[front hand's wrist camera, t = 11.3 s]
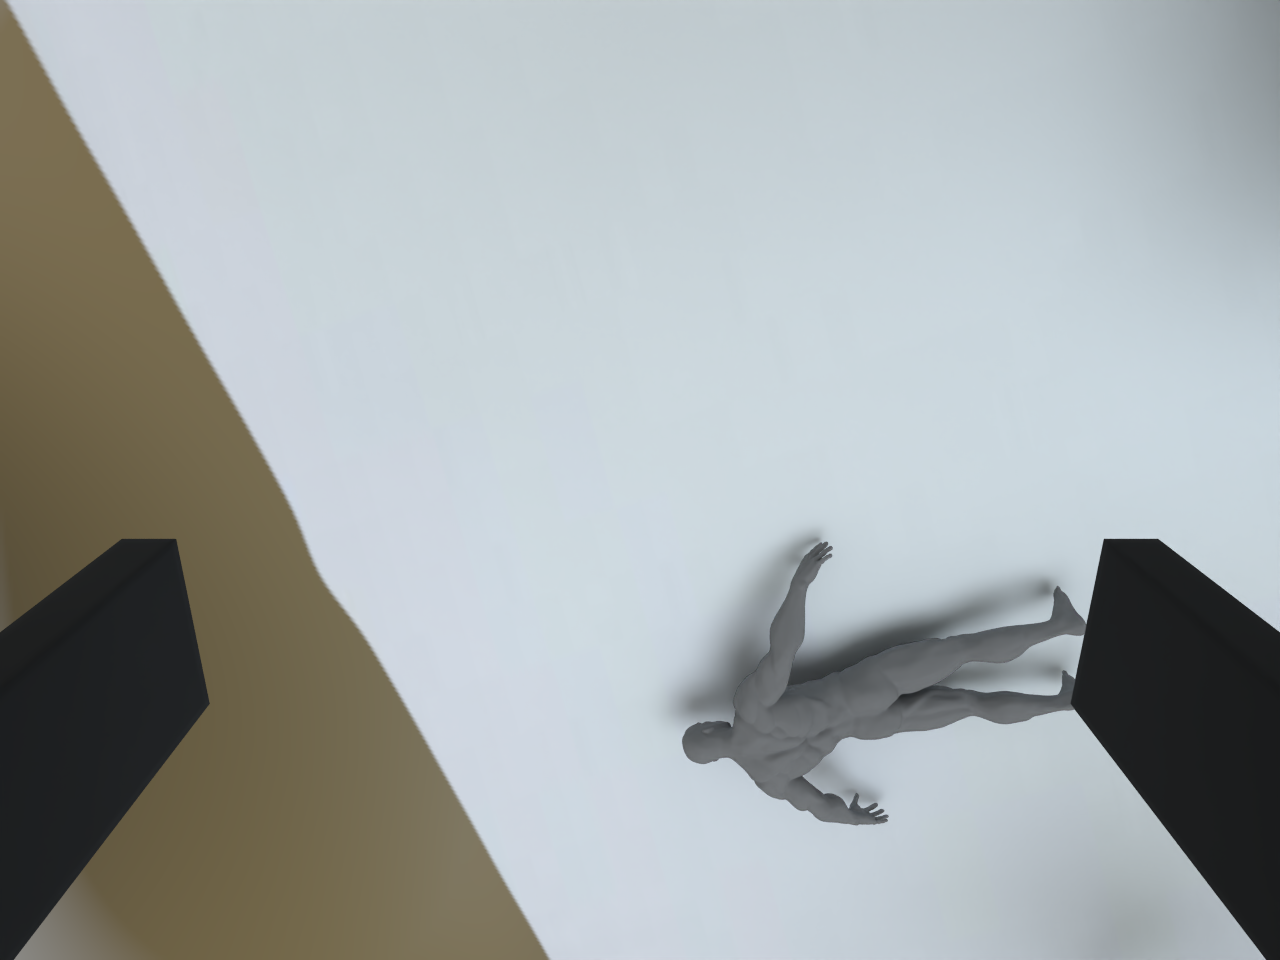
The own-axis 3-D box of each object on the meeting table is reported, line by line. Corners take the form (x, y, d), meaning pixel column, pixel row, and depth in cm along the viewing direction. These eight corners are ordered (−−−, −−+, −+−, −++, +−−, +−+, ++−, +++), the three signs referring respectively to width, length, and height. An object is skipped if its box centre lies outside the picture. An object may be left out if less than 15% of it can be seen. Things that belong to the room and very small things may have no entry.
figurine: (1038, 480, 43) (638, 586, 44) (1085, 513, 39) (643, 629, 40) (1070, 757, 49) (716, 846, 49) (1113, 810, 45) (727, 907, 45)
